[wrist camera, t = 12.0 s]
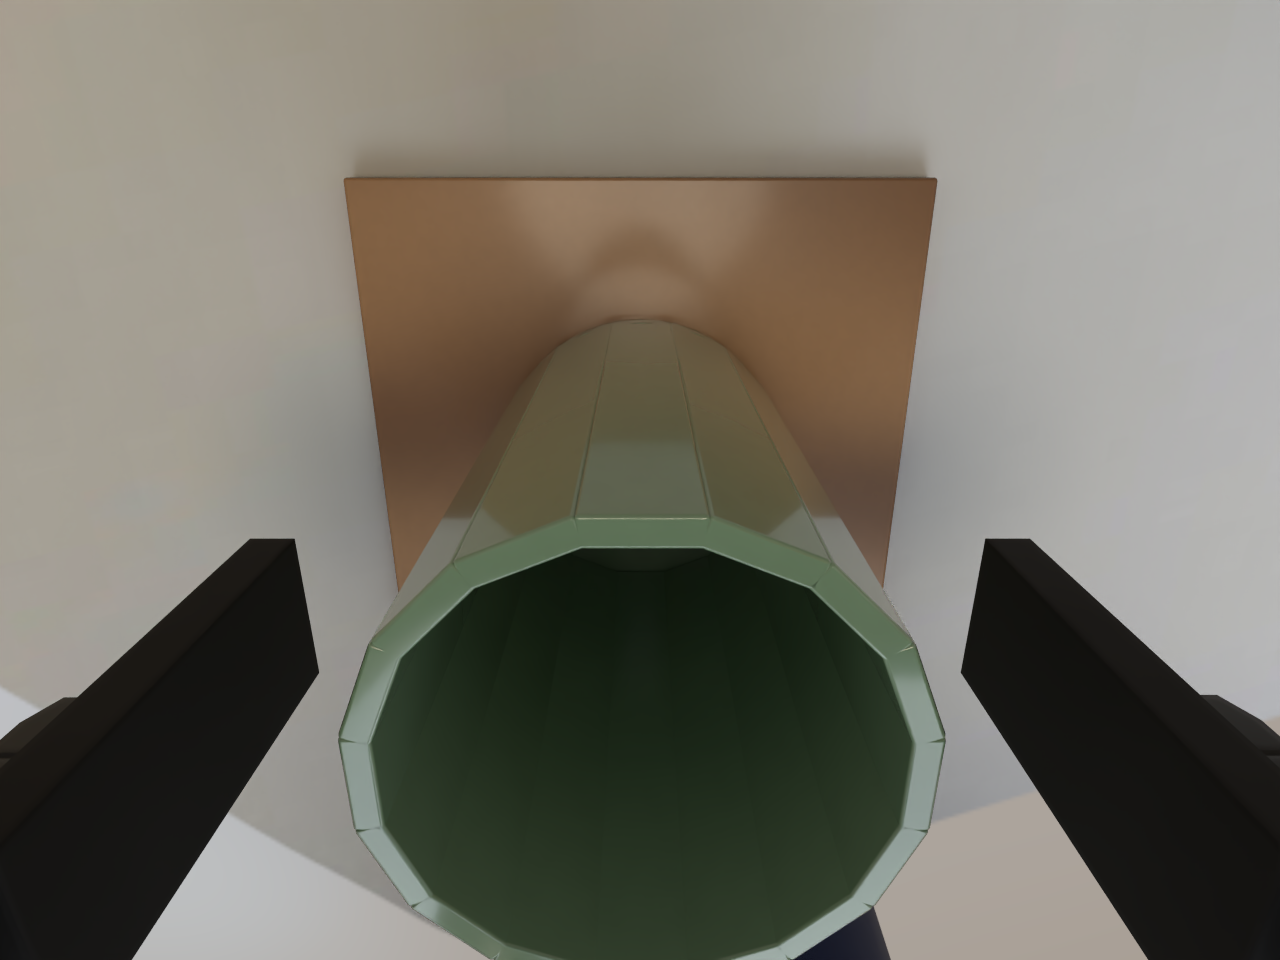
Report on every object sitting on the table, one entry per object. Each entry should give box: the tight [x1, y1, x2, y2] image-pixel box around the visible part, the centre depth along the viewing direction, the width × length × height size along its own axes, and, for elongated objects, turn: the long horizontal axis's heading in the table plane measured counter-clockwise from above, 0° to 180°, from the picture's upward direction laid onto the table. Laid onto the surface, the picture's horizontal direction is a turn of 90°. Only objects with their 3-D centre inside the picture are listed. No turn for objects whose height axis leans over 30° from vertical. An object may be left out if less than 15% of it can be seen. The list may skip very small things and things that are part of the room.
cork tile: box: [344, 178, 937, 593], centre depth 21 cm, size 14×14×1 cm
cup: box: [338, 319, 946, 960], centre depth 15 cm, size 7×7×12 cm
